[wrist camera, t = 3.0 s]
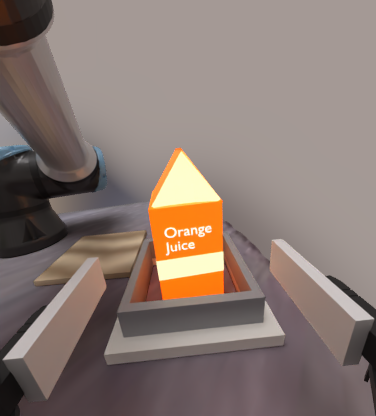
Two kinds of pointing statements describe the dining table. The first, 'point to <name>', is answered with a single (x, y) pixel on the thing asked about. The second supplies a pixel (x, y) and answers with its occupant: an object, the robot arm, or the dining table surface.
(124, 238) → the oak board
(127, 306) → the collar holder
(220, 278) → the orange juice
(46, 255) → the dining table surface
